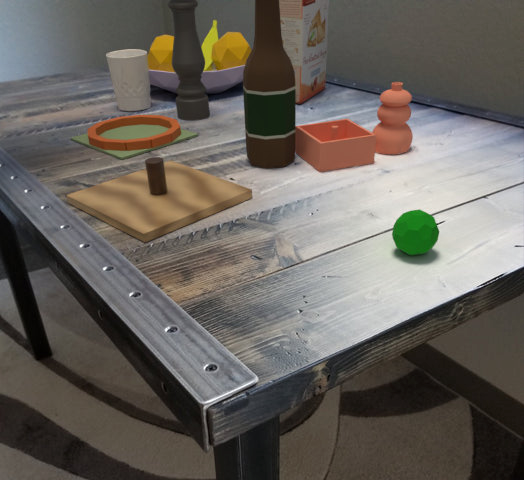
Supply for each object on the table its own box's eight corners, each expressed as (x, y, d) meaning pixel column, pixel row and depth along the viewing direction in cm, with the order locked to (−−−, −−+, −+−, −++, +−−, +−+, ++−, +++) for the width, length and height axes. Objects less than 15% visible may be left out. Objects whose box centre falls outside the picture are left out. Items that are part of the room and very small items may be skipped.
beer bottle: (305, 161, 90) (308, -21, 76) (264, 173, 87) (258, -16, 72) (276, 149, 95) (274, -25, 81) (236, 159, 92) (226, -20, 78)
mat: (122, 160, 93) (121, 157, 93) (70, 140, 103) (70, 137, 102) (198, 136, 102) (198, 133, 102) (144, 119, 111) (144, 117, 111)
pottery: (319, 172, 86) (322, 102, 80) (295, 152, 94) (295, 87, 88) (424, 154, 91) (433, 87, 85) (393, 137, 98) (400, 74, 92)
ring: (123, 157, 93) (121, 148, 92) (72, 137, 102) (70, 129, 102) (198, 133, 102) (197, 125, 101) (145, 117, 111) (144, 110, 110)
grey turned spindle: (195, 122, 109) (179, -38, 94) (171, 117, 112) (152, -38, 97) (216, 114, 113) (204, -41, 98) (192, 109, 116) (177, -41, 101)
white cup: (162, 104, 120) (155, 51, 114) (136, 114, 114) (127, 58, 108) (133, 100, 123) (125, 48, 117) (107, 109, 118) (97, 55, 112)
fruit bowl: (218, 108, 116) (214, 45, 109) (115, 95, 127) (105, 37, 120) (285, 78, 135) (285, 23, 128) (190, 69, 146) (185, 17, 139)
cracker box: (303, 105, 116) (304, -19, 103) (275, 102, 118) (273, -19, 106) (327, 88, 126) (331, -26, 113) (302, 86, 128) (303, -26, 116)
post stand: (145, 242, 70) (137, 198, 66) (68, 203, 80) (58, 163, 77) (252, 197, 80) (250, 157, 76) (171, 167, 90) (166, 130, 87)
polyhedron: (381, 249, 66) (385, 210, 64) (413, 238, 68) (418, 199, 66) (412, 267, 63) (417, 226, 60) (444, 254, 65) (451, 215, 62)
